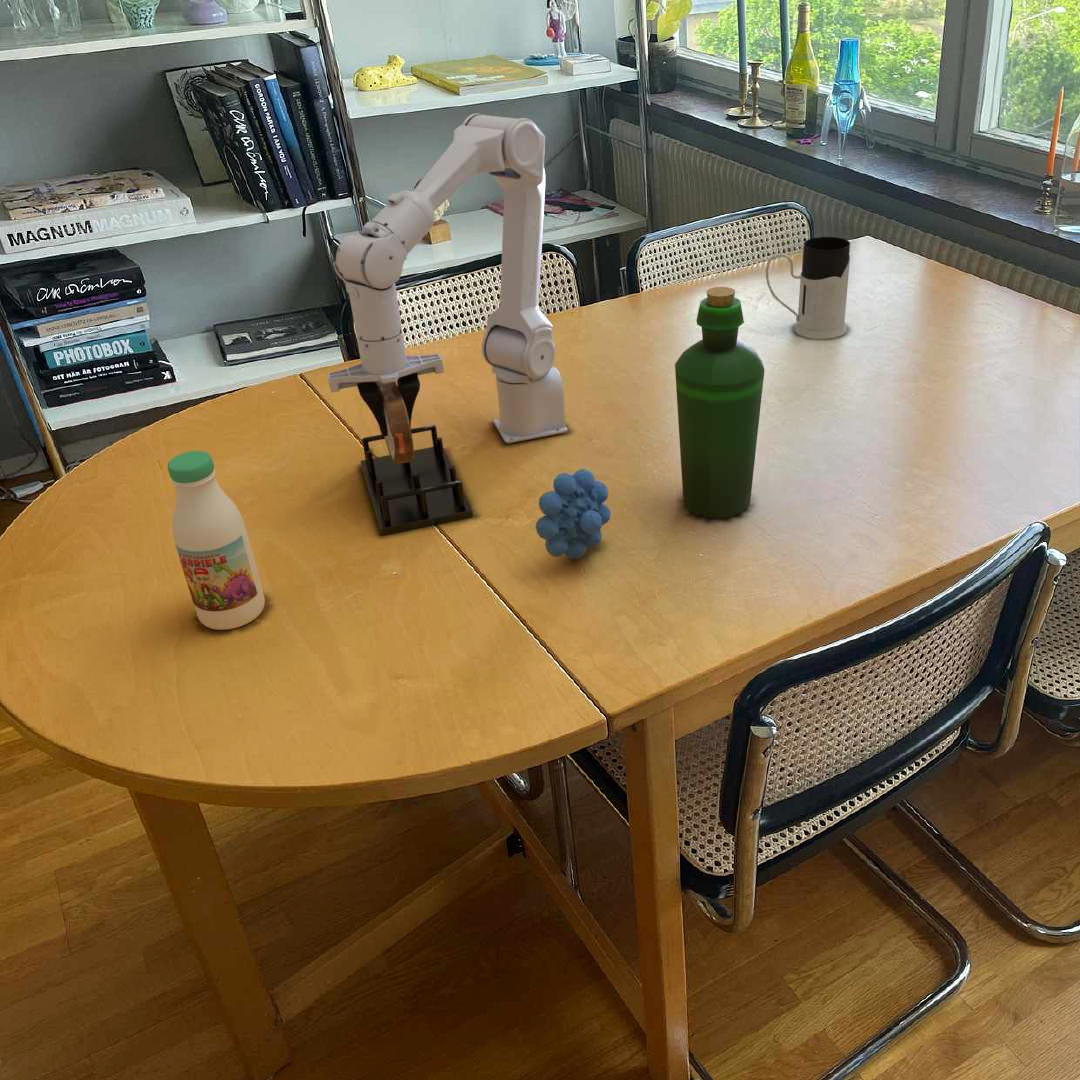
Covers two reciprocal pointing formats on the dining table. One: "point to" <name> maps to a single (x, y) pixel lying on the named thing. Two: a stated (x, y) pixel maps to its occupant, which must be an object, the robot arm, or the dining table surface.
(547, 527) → the grapes
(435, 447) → the rack
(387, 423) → the tin
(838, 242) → the glass holder
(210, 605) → the milk bottle
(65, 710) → the dining table surface
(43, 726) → the dining table surface
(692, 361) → the bottle
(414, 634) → the dining table surface
